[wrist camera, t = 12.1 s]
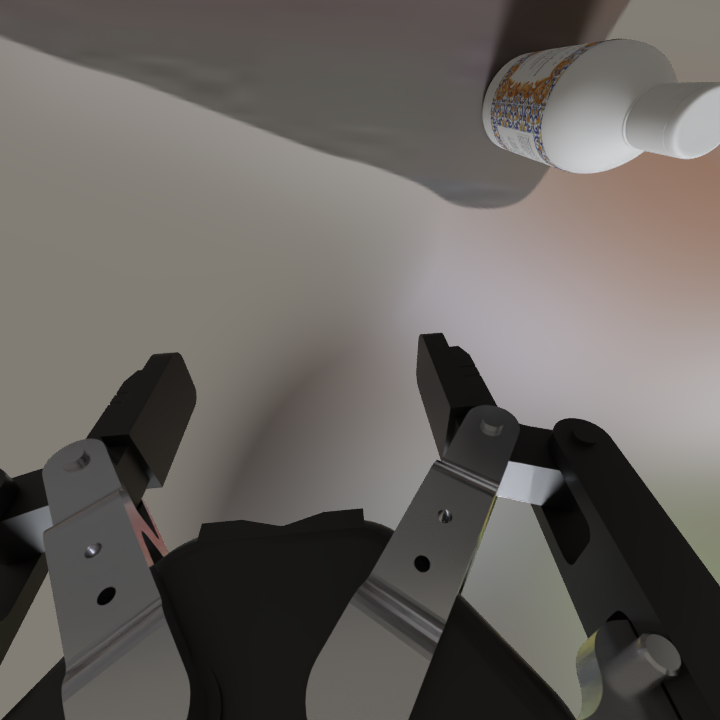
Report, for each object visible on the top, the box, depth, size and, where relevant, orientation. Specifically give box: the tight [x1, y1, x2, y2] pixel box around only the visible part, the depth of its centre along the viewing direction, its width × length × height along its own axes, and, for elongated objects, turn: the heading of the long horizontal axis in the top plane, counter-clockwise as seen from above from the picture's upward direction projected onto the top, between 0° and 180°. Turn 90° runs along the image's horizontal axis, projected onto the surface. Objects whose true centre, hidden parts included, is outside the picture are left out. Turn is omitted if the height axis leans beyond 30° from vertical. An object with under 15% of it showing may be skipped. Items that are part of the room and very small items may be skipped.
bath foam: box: [482, 39, 720, 173], centre depth 24 cm, size 7×7×20 cm
